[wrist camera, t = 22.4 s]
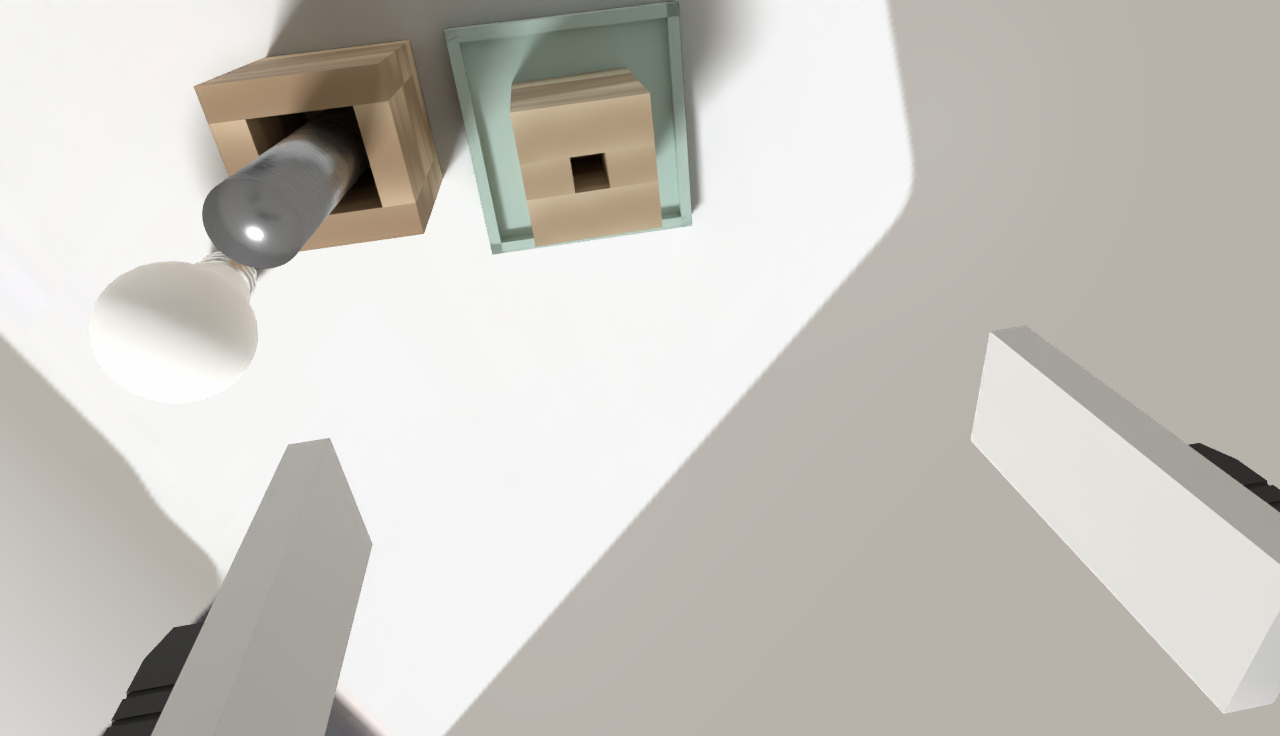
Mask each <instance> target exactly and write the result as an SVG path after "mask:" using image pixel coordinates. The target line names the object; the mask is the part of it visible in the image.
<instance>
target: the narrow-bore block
mask: <svg viewBox="0 0 1280 736" xmlns="http://www.w3.org/2000/svg"><path fill="white" fill-rule="evenodd" d="M510 117H511V122H512V127H513V132H514V138H515V143H516V148H517V153H518V158H519V163H520V169H521V174H522V179H523V184H524V189H525V195H526V200H527V205H528V210H529V215H530V220H531V226H532V231H533V236H534V241H535V246H536V247H537V246H543V245H550V244H557V243H563V242H570V241H576V240H583V239H589V238H596V237H602V236H609V235H615V234H622V233H628V232H635V231H641V230H648V229H654V228H661V227H663V226H662V215H661V205H660V194H659V183H658V173H657V162H656V151H655V141H654V130H653V119H652V109H651V98H650V92H649V91H648V90H647V89H646V88H645V87H644V86H643V85H642V84H641V83H640V82H639V81H638V80H637V78H636V77H635V76H634V75H633V74H632V73H631V72H630V71H629V70H628V69H627V68H626V67H625V68H618V69H610V70H603V71H596V72H588V73H581V74H574V75H566V76H559V77H552V78H545V79H537V80H530V81H523V82H515V83H512V85H511V100H510Z"/></svg>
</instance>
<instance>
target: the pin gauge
mask: <svg viewBox="0 0 1280 736" xmlns="http://www.w3.org/2000/svg"><path fill="white" fill-rule="evenodd" d="M369 165H370V162H369V159H368V155H367V152H366V149H365V145H364V142H363V138H362V135H361V132H360V128H359V125H358V121H357V118H356V114H355V111H354V108H353V106H347V107H339V108H331V109H326V110H324V111H323V112H321V113H320V114H319V115H317V116H316V117H314V118H313V119H311V120H310V121H309V122H307V123H306V124H304V125H303V126H301V127H300V128H299V129H297V130H296V131H294V132H293V133H291V134H290V135H289V136H287V137H286V138H284V139H283V140H281V141H280V142H279V143H277V144H276V145H274V146H273V147H271V148H270V149H269V150H267V151H266V152H264V153H263V154H262V155H260V156H259V157H257V158H256V159H254V160H253V161H252V162H250V163H249V164H247V165H246V166H244V167H243V168H242V169H240V170H239V171H237V172H236V173H234V174H233V175H232V176H230V177H229V178H227V179H226V180H224V181H223V182H222V183H220V184H219V185H217V186H216V187H215V188H214V189H212V190H211V191H210V193H209V194H208V196H207V197H206V199H205V202H204V205H203V211H202V216H203V223H204V227H205V230H206V232H207V234H208V236H209V238H210V239H211V241H212V242H213V244H214V245H215V246H216V247H217V248H218V249H219V250H220V251H221V252H222V253H223V254H224V255H226V256H227V257H229V258H230V259H232V260H233V261H235V262H237V263H240V264H242V265H245V266H248V267H253V268H261V269H266V268H274V267H278V266H281V265H283V264H285V263H287V262H288V261H290V260H291V259H292V258H293V257H295V255H296V254H297V253H298V252H299V250H300V249H301V248H302V247H303V246H304V244H305V243H306V242H307V241H308V239H309V238H310V237H311V236H312V235H313V233H314V232H315V231H316V230H317V229H318V227H319V226H320V225H321V224H322V222H323V221H324V220H325V219H326V218H327V216H328V215H329V214H330V213H331V211H332V210H333V209H334V208H335V207H336V205H337V204H338V203H339V202H340V201H341V199H342V198H343V197H344V196H345V194H346V193H347V192H348V191H349V190H350V188H351V187H352V186H353V185H354V183H355V182H356V181H357V180H358V179H359V177H360V176H361V175H362V174H363V173H364V171H365V170H366V169H367V168H368V166H369Z"/></svg>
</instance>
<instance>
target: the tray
mask: <svg viewBox="0 0 1280 736" xmlns="http://www.w3.org/2000/svg"><path fill="white" fill-rule="evenodd" d="M444 34H445V39H446V43H447V48H448V53H449V57H450V62H451V66H452V71H453V76H454V80H455V85H456V89H457V94H458V98H459V103H460V108H461V112H462V117H463V121H464V126H465V131H466V135H467V140H468V144H469V149H470V153H471V158H472V163H473V167H474V172H475V176H476V181H477V186H478V190H479V195H480V199H481V204H482V208H483V213H484V218H485V222H486V227H487V231H488V236H489V241H490V245H491V250H492V254H499V253H506V252H513V251H520V250H527V249H534V248H541V247H548V246H554V245H561V244H568V243H575V242H582V241H589V240H596V239H603V238H610V237H616V236H623V235H630V234H637V233H644V232H651V231H658V230H665V229H672V228H678V227H685V226H692V213H691V197H690V181H689V165H688V149H687V132H686V116H685V100H684V84H683V68H682V52H681V36H680V20H679V3H678V2H675V1H670V2H662V3H654V4H646V5H637V6H629V7H621V8H612V9H604V10H596V11H588V12H579V13H571V14H563V15H555V16H546V17H538V18H530V19H521V20H513V21H505V22H497V23H488V24H480V25H472V26H464V27H455V28H447V29H445V30H444ZM625 67H626V68H627V69H628V70H629V71H630V72H631V73H632V74H633V75H634V76H635V77H636V78H637V80H638V81H639V82H640V83H641V84H642V85H643V86H644V87H645V88H646V89H647V90H648V91H649V92H650V98H651V109H652V119H653V130H654V141H655V151H656V162H657V173H658V183H659V194H660V205H661V215H662V226H663V227H661V228H654V229H648V230H641V231H635V232H628V233H622V234H615V235H609V236H602V237H596V238H589V239H583V240H576V241H570V242H563V243H557V244H550V245H543V246H537V247H536V246H535V241H534V236H533V231H532V226H531V220H530V215H529V210H528V205H527V200H526V195H525V189H524V184H523V179H522V174H521V169H520V163H519V158H518V153H517V148H516V143H515V138H514V132H513V127H512V122H511V117H510V100H511V85H512V83H515V82H523V81H530V80H537V79H545V78H552V77H559V76H566V75H574V74H581V73H588V72H596V71H603V70H610V69H618V68H625Z"/></svg>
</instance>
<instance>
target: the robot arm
mask: <svg viewBox="0 0 1280 736" xmlns="http://www.w3.org/2000/svg"><path fill="white" fill-rule="evenodd" d="M971 441H972V442H973V444H974V445H975V446H976V447H977V448H978V449H979V450H980V451H981V452H982V453H983V454H984V455H985V456H986V458H987V459H988V460H989V461H990V462H991V463H992V464H993V465H994V466H995V467H996V468H997V469H998V470H999V472H1000V473H1001V474H1002V475H1003V476H1004V477H1005V478H1006V479H1007V480H1008V481H1009V482H1010V484H1011V485H1013V487H1014V488H1015V489H1016V490H1017V491H1018V492H1019V493H1020V494H1021V495H1022V497H1023V498H1024V499H1025V500H1026V501H1027V502H1028V503H1029V504H1030V505H1031V506H1032V507H1033V508H1034V509H1035V511H1037V512H1038V514H1039V515H1040V516H1041V517H1042V518H1043V519H1044V520H1045V521H1046V522H1047V524H1048V525H1049V526H1050V527H1051V528H1052V529H1053V530H1054V531H1055V532H1056V533H1057V534H1058V535H1059V536H1060V538H1061V539H1062V540H1063V541H1064V542H1065V543H1066V544H1067V545H1068V546H1069V547H1070V548H1071V549H1072V551H1073V552H1074V553H1075V554H1076V555H1077V556H1078V557H1079V558H1080V559H1081V560H1082V561H1083V562H1084V563H1085V565H1086V566H1087V567H1088V568H1089V569H1090V570H1091V571H1092V572H1093V573H1094V574H1095V575H1096V577H1097V578H1099V580H1100V581H1101V582H1102V583H1103V584H1104V585H1105V586H1106V587H1107V588H1108V589H1109V591H1110V592H1111V593H1112V594H1113V595H1114V596H1115V597H1116V598H1117V599H1118V600H1119V601H1120V602H1121V603H1122V604H1123V606H1124V607H1125V608H1126V609H1127V610H1128V611H1129V612H1130V613H1131V614H1132V615H1133V617H1134V618H1135V619H1136V620H1137V621H1138V622H1139V623H1140V624H1141V625H1142V626H1143V627H1144V628H1145V629H1146V631H1147V632H1148V633H1149V634H1150V635H1151V636H1152V637H1153V638H1154V639H1155V640H1156V641H1157V642H1158V643H1159V644H1160V646H1161V647H1162V648H1163V649H1164V650H1165V651H1166V652H1167V653H1168V654H1169V655H1170V656H1171V658H1172V659H1173V660H1174V661H1175V662H1176V663H1177V664H1178V665H1179V666H1180V667H1181V668H1182V669H1183V671H1184V672H1185V673H1186V674H1187V675H1188V676H1189V677H1190V678H1191V679H1192V680H1193V681H1194V682H1195V684H1196V685H1197V686H1198V687H1199V688H1200V689H1201V690H1202V691H1203V692H1204V693H1205V694H1206V695H1207V696H1208V697H1209V699H1210V700H1211V701H1212V702H1213V703H1214V704H1215V705H1216V706H1217V707H1218V708H1219V709H1220V711H1221V712H1222V713H1223V714H1225V713H1230V712H1234V711H1239V710H1244V709H1249V708H1254V707H1258V706H1263V705H1267V704H1272V703H1274V701H1275V699H1276V697H1277V696H1278V694H1279V692H1280V490H1279V489H1278V488H1277V487H1275V486H1274V485H1271V486H1269V485H1268V484H1267V480H1265V479H1264V478H1262V477H1261V476H1260V475H1258V474H1257V473H1255V472H1254V471H1253V470H1251V469H1250V468H1248V467H1247V466H1245V465H1244V464H1242V463H1241V462H1240V461H1238V460H1237V459H1235V458H1232V457H1230V456H1228V455H1226V454H1223V453H1221V452H1219V451H1216V450H1214V449H1212V448H1210V447H1207V446H1205V445H1203V444H1201V443H1196V444H1190V445H1187V444H1186V443H1184V442H1183V441H1182V440H1181V439H1179V438H1178V437H1176V436H1175V435H1174V434H1172V433H1171V432H1170V431H1168V430H1167V429H1166V428H1164V427H1163V426H1162V425H1160V424H1159V423H1157V422H1156V421H1155V420H1153V419H1152V418H1151V417H1149V416H1148V415H1147V414H1145V413H1144V412H1142V411H1141V410H1140V409H1138V408H1137V407H1136V406H1134V405H1133V404H1132V403H1130V402H1129V401H1127V400H1126V399H1125V398H1123V397H1122V396H1121V395H1119V394H1118V393H1117V392H1115V391H1114V390H1113V389H1111V388H1110V387H1108V386H1107V385H1105V384H1104V383H1103V382H1102V381H1100V380H1099V379H1097V378H1096V377H1095V376H1094V375H1092V374H1091V373H1089V372H1088V371H1087V370H1085V369H1084V368H1083V367H1081V366H1080V365H1079V364H1077V363H1076V362H1075V361H1073V360H1072V359H1070V358H1069V357H1068V356H1066V355H1065V354H1064V353H1062V352H1061V351H1060V350H1058V349H1057V348H1055V347H1054V346H1053V345H1051V344H1050V343H1049V342H1047V341H1046V340H1044V339H1043V338H1042V337H1040V336H1039V335H1038V334H1036V333H1035V332H1034V331H1032V330H1031V329H1030V328H1028V327H1027V326H1020V327H1014V328H1008V329H1002V330H996V331H990V334H989V340H988V345H987V351H986V357H985V363H984V369H983V374H982V379H981V385H980V390H979V396H978V402H977V407H976V413H975V418H974V424H973V430H972V435H971ZM371 547H372V542H371V540H370V537H369V535H368V532H367V530H366V527H365V525H364V522H363V520H362V517H361V515H360V512H359V510H358V507H357V505H356V502H355V500H354V497H353V495H352V492H351V490H350V487H349V485H348V482H347V480H346V477H345V475H344V472H343V470H342V467H341V465H340V462H339V460H338V457H337V455H336V452H335V450H334V447H333V445H332V442H331V440H330V438H327V439H321V440H315V441H309V442H303V443H296V444H290V445H288V446H287V449H286V451H285V453H284V455H283V457H282V459H281V461H280V463H279V465H278V468H277V470H276V472H275V474H274V476H273V478H272V480H271V482H270V485H269V487H268V489H267V491H266V493H265V495H264V497H263V499H262V501H261V504H260V506H259V508H258V510H257V512H256V514H255V516H254V518H253V521H252V523H251V525H250V527H249V529H248V531H247V533H246V535H245V537H244V540H243V542H242V544H241V546H240V548H239V550H238V552H237V554H236V557H235V559H234V561H233V563H232V565H231V567H230V569H229V571H228V573H227V576H226V578H225V580H224V582H223V584H222V586H221V588H220V590H219V593H218V595H217V597H216V599H215V601H214V603H213V605H212V607H211V609H210V612H209V614H208V616H207V618H206V620H205V622H202V623H197V624H191V625H186V626H180V627H174V628H173V629H172V630H171V631H170V632H169V633H168V634H167V635H166V636H165V637H164V639H163V640H162V641H161V642H160V643H159V644H158V645H157V646H156V647H155V648H154V649H153V650H152V651H151V652H150V653H149V654H148V656H147V657H146V658H145V659H144V660H143V662H142V664H141V666H140V668H139V670H138V672H137V673H136V675H135V677H134V679H133V681H132V683H131V685H130V687H129V688H128V691H127V692H126V693H127V698H126V699H123V700H122V702H121V704H120V705H119V707H118V709H117V711H116V713H115V715H114V717H113V718H112V720H111V721H112V726H111V727H109V728H107V730H106V732H105V733H104V735H103V736H324V735H325V731H326V727H327V723H328V719H329V715H330V711H331V707H332V703H333V699H334V695H335V691H336V687H337V683H338V679H339V675H340V671H341V667H342V663H343V659H344V655H345V651H346V647H347V643H348V639H349V635H350V631H351V627H352V623H353V619H354V615H355V611H356V607H357V603H358V599H359V595H360V591H361V587H362V583H363V579H364V575H365V571H366V567H367V563H368V559H369V555H370V551H371Z"/></svg>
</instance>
